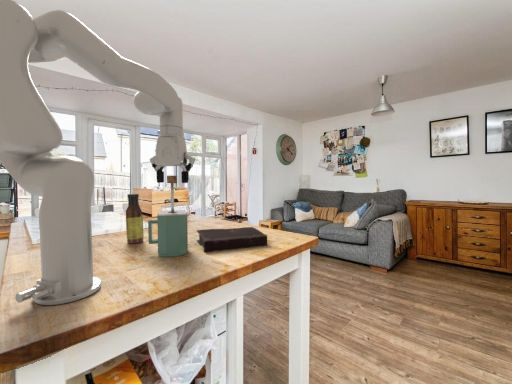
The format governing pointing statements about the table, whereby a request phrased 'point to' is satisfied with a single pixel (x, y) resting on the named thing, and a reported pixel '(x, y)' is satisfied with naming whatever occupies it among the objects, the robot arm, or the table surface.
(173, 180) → the plunger
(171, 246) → the press carafe
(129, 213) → the sauce bottle
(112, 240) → the table surface
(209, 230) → the diary
